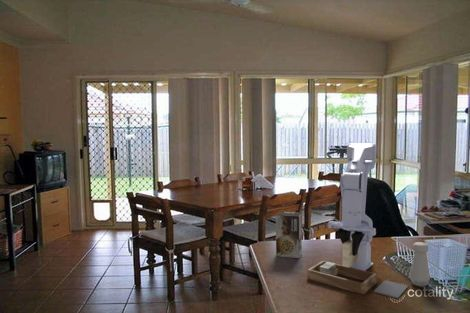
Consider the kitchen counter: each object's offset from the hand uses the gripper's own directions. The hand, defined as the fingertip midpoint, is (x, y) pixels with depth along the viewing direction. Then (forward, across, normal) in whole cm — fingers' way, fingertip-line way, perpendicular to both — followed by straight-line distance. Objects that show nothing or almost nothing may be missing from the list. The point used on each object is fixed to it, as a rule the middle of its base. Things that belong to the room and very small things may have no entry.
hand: (350, 253), depth 122 cm
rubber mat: (+9, +12, +3) cm, 15 cm away
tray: (+9, -3, 0) cm, 10 cm away
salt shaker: (+10, +17, +12) cm, 23 cm away
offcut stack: (+10, -8, +1) cm, 13 cm away
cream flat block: (+3, 0, 0) cm, 3 cm away
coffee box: (+10, -29, +10) cm, 32 cm away
